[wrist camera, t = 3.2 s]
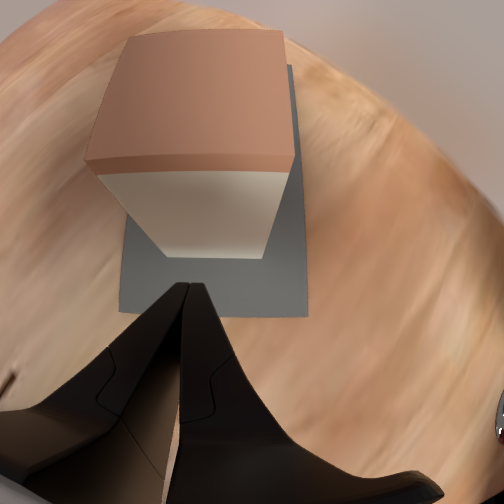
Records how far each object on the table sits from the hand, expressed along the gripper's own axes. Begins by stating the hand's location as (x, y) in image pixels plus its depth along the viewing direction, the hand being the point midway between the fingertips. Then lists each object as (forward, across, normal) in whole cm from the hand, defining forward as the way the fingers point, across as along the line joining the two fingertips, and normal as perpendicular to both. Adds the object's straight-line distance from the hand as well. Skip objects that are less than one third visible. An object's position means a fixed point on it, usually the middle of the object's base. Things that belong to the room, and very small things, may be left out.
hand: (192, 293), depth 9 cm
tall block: (+8, 0, +1) cm, 8 cm away
